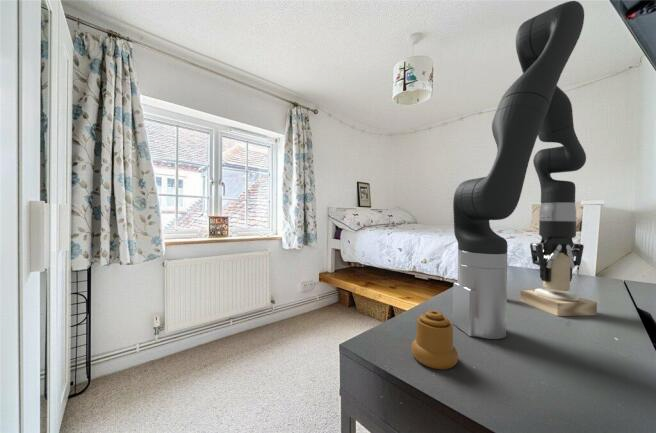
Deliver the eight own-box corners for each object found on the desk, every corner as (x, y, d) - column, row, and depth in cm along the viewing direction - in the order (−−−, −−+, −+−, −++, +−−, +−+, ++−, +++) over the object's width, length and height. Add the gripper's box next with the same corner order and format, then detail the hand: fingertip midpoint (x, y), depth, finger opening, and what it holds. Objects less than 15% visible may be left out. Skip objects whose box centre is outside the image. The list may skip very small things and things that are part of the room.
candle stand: (557, 316, 64) (557, 300, 64) (520, 301, 75) (520, 287, 75) (596, 315, 65) (596, 299, 65) (554, 300, 76) (554, 287, 76)
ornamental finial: (403, 357, 44) (424, 343, 49) (446, 378, 39) (465, 360, 44) (403, 311, 44) (424, 302, 49) (446, 326, 39) (465, 313, 44)
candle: (575, 291, 66) (576, 253, 66) (551, 290, 67) (551, 252, 67) (560, 286, 72) (561, 251, 72) (538, 284, 73) (538, 250, 73)
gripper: (546, 219, 65) (544, 285, 65) (596, 220, 66) (595, 284, 66) (521, 219, 73) (520, 278, 73) (566, 219, 74) (565, 277, 74)
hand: (556, 280), depth 70 cm, fingers closed on candle, 5 cm apart
